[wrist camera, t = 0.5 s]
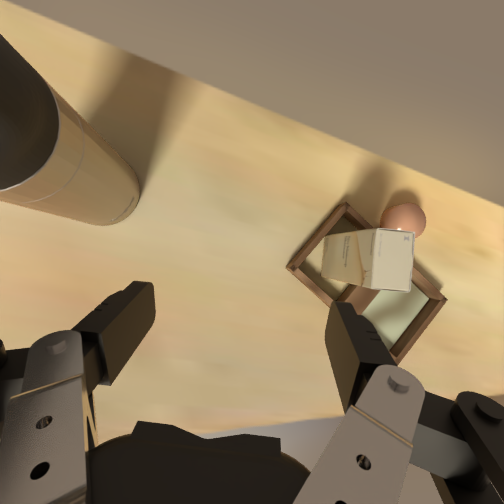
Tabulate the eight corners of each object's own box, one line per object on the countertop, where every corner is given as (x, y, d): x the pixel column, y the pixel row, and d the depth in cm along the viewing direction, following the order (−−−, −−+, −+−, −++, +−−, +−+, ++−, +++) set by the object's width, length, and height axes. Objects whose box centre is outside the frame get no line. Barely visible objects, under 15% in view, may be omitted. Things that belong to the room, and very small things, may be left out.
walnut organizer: (285, 267, 36) (289, 268, 34) (339, 204, 37) (346, 202, 35) (387, 360, 38) (397, 366, 36) (436, 297, 39) (447, 299, 37)
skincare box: (324, 234, 37) (375, 224, 25) (353, 238, 38) (416, 229, 26) (320, 278, 37) (369, 289, 25) (349, 281, 37) (411, 293, 25)
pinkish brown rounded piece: (373, 224, 38) (386, 222, 35) (393, 200, 39) (408, 195, 36) (396, 247, 39) (411, 246, 36) (416, 222, 39) (432, 219, 36)
